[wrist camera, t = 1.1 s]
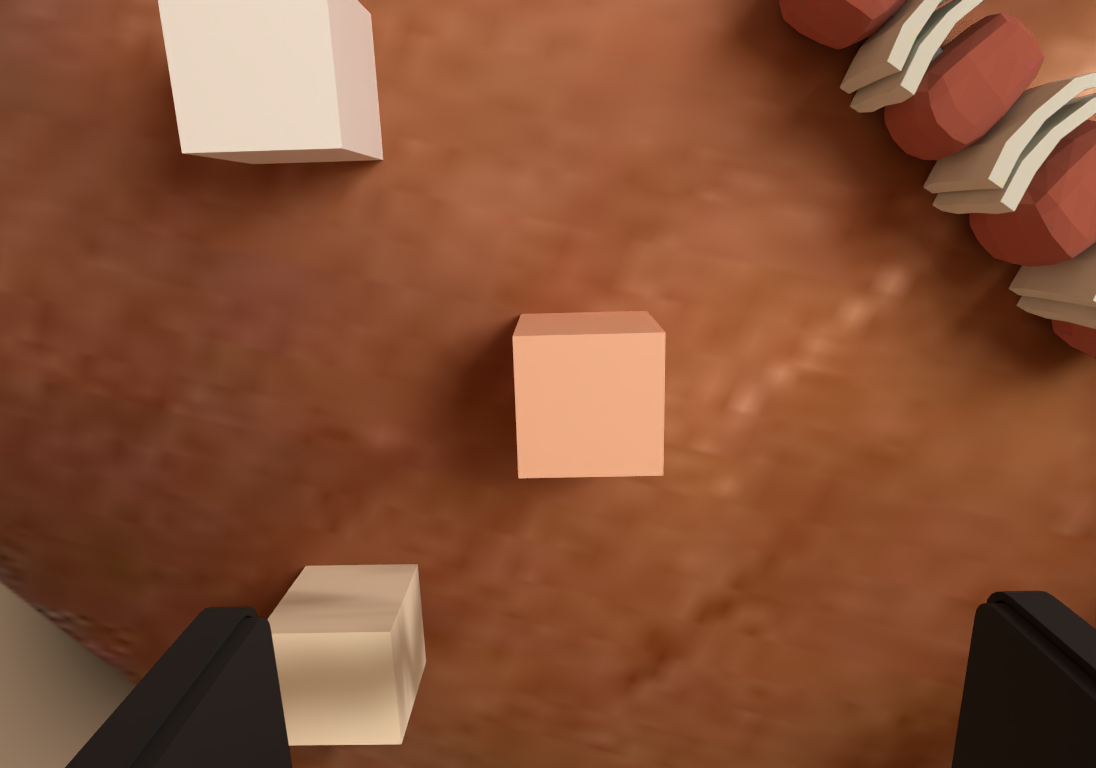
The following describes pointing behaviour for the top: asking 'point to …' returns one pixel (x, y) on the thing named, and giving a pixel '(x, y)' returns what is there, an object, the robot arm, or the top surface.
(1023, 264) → the skewer
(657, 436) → the terracotta block
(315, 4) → the cream block
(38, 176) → the top surface
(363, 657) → the birch block
